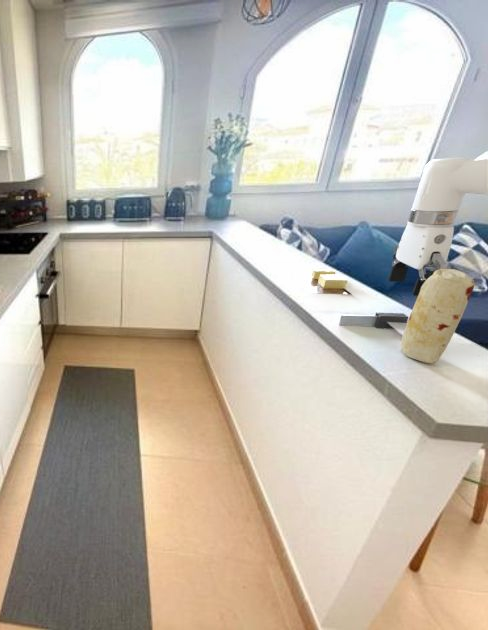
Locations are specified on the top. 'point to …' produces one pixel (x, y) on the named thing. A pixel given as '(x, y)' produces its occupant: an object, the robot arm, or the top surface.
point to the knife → (374, 320)
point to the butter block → (332, 281)
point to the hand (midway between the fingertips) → (407, 287)
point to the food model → (436, 314)
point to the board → (316, 286)
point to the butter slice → (322, 272)
